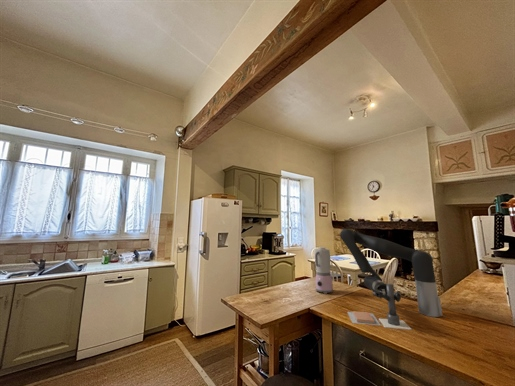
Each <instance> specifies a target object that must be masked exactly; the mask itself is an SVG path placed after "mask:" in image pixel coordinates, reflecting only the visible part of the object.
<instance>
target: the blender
mask: <svg viewBox="0 0 515 386" xmlns="http://www.w3.org/2000/svg"><path fill="white" fill-rule="evenodd" d="M331 262H332V261H331V252H330V249H329V248H326V247H325V246H319V247H317V248H314V264H315V268H316V274H315V279H314V280H315V292H317V293H318V292H320V293H323V294H324V295H327V294H328V293H332V292H334V288H333V286H334V284H333V276H332V275H331Z"/></svg>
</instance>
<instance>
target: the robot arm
mask: <svg viewBox="0 0 515 386" xmlns="http://www.w3.org/2000/svg"><path fill="white" fill-rule="evenodd" d="M339 237H340V239H341V241H342V242H343V243H344V244H345V246H346V247H347V248H348V250H349V252H350V253H351V256H352V257H353V258H354V261H355V262H356V264H357V267H358V268H359V270H360V272H361V273H363V274H366V273H369V274H371V275H368V276H365V277H364V278H363V284H364V286H365V287H366V288H367V289H370V290H371V291H372V295H373V296H375V297H376V298H378V299H383V300H386V301H387V302H388V301H390V299H389V296H388V295H387V288H386V284H387V283H385V282H384V281H383V279H382V278H381V276H380V275H379V274H378V273H377V272H376V271H375V270H374V269H373V267H372V265H371V264H370V262H369V260H368V258H367V257H366V255H365V254H364V253H363V252H362V250H361V249H360V247H359V246H358V245H361V246H364V247H365V248H368V249H369V250H371V251H373V252H376V253H379V254H381V255H384V256H388V257H389V256H390V257H393V258H400V259H403V260H406V261H408V262H411V265H412V271H413V273H412V274H413V276H414V282H415V291H416V299H417V307H418V309H417V310H418V312H419V313H420V314H422V315H424V316H427V317H434V318H439V317H443V310H442V304H441V297H440V296H438V295H439V294H438V288H437V287H438V286H437V280H436V276H435V269H434V263H433V262H434V259H433V256H432V255H431V254H430V253H428V252H427V251H424V250H420V249H414V248H411V247H406V246H404V245H401V244H398V243H396V242H393V241H390V240H387V239H384V238H380V237H377V236H371V235H368V234H367V235H366V234H363V233H360V232H358V231H356V230H354V229H350V228H344V229H341V231H340V232H339ZM401 293H402V292H401V291H400V290H397V291H394V297H395V302H397V303H399V302H400V301H401V299H402V295H401Z"/></svg>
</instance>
